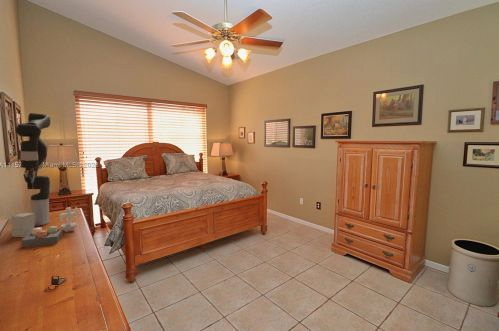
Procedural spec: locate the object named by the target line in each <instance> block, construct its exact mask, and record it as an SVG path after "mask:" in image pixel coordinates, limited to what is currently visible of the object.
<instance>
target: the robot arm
mask: <svg viewBox="0 0 499 331" xmlns="http://www.w3.org/2000/svg"><path fill="white" fill-rule="evenodd" d="M50 126H51V117H50V116H49V115H48V114H43V113H36V112H35V113H33V112H31V113H29V114H28V118H27V122H23V123H19V124H18V125H17V126H16V127H15V132H16V135H18V136H20V137H24V138H25V137H26V138H27V137H28V140H23V141H21V142H20V168H22V169H24V171H23V173H24V174H23V177H24V178H23V179H24V181H25V183H26V186H27V190H39V192H38V193H35V194H32V195H31V196H30V211H31V212H30V213H34V225H35V226H37V227H38V226H44V225H48V224H49V223H50V189H51V188H50V185H51V181H50V177H49V176H47V175H38V171H39V168H40V167H41V165H42V164H43V163H44V162H45V160H46V159H47V156H48V152H47V151H48V147H47V145H46V144H45V142H44V141H43V140H42V138H41V137H40V136H41V135H42V134H41V133H42V130H43V129H48V128H49V127H50Z"/></svg>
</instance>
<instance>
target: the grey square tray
mask: <svg viewBox="0 0 499 331" xmlns="http://www.w3.org/2000/svg"><path fill="white" fill-rule="evenodd" d="M46 230H47V237H42V238H37V235H32V232H29V233H28V234H27V235H26V237H23V238H22V239H21V248H29V247H39V246H45V245H55V244H58V243H59V241H60V239H61V238H62V237H63V228H57V233H48V229H46Z"/></svg>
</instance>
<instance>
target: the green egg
mask: <svg viewBox="0 0 499 331" xmlns="http://www.w3.org/2000/svg"><path fill="white" fill-rule="evenodd" d="M57 229H58V226H57V225H51V226H48V227H47V230H48V233H57Z"/></svg>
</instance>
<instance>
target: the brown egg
mask: <svg viewBox="0 0 499 331" xmlns="http://www.w3.org/2000/svg"><path fill="white" fill-rule="evenodd" d="M47 230H48V229H42V230H41V231H37V238H42V237H47Z"/></svg>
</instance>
